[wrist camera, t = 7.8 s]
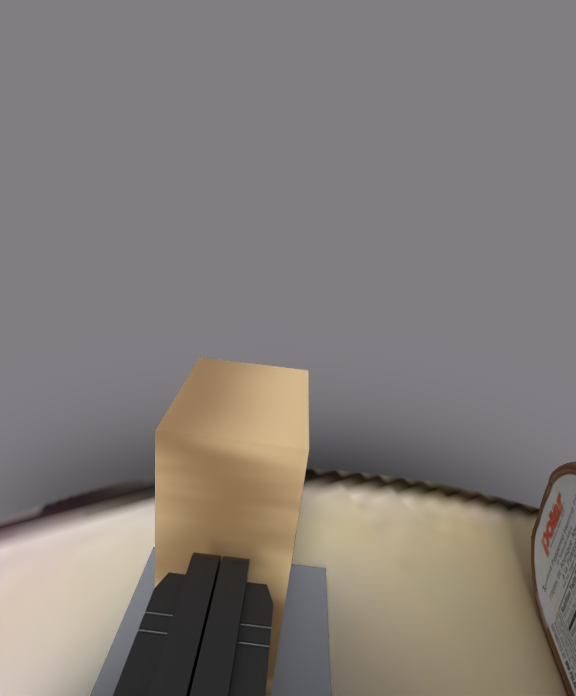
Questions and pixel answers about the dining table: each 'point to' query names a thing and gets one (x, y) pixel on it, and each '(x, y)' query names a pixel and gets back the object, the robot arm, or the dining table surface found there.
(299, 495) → the oak block
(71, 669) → the dining table surface
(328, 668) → the long grey tray
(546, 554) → the tin
